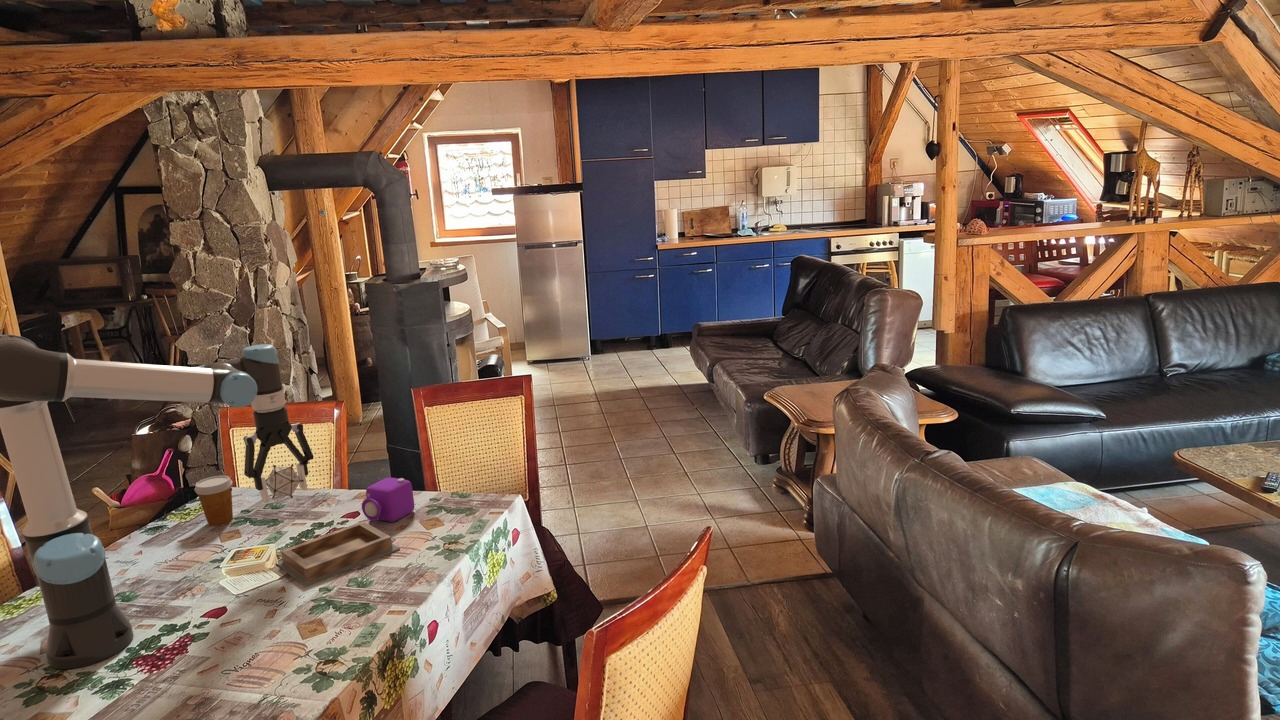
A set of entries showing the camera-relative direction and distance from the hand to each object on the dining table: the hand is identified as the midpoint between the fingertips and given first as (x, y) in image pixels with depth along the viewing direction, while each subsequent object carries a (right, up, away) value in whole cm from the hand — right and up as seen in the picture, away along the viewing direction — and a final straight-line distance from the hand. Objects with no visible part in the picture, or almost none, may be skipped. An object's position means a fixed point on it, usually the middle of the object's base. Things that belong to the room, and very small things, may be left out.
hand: (284, 494), depth 210 cm
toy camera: (+20, -10, +21) cm, 31 cm away
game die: (0, -1, 0) cm, 1 cm away
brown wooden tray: (+13, -15, -1) cm, 20 cm away
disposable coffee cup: (-29, -12, +26) cm, 41 cm away
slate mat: (+13, -15, -1) cm, 20 cm away
